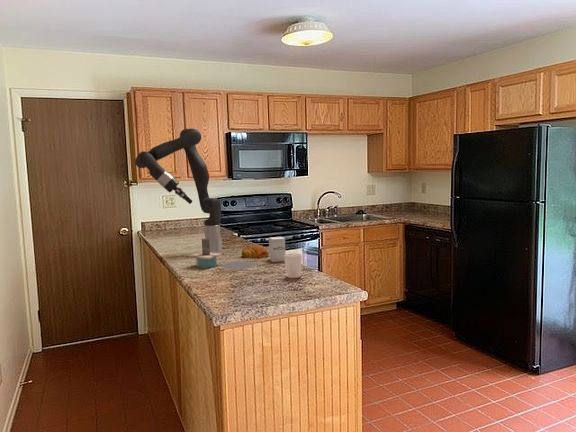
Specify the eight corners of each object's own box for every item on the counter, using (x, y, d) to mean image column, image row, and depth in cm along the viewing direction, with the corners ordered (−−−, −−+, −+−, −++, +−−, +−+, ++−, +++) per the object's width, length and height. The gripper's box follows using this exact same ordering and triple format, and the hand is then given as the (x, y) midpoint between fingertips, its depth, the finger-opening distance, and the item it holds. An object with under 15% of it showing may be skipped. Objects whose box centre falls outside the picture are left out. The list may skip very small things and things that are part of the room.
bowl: (205, 263, 238) (205, 253, 237) (220, 265, 233) (220, 254, 232) (192, 267, 229) (192, 257, 229) (208, 269, 224) (207, 258, 224)
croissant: (238, 261, 255) (235, 247, 254) (260, 253, 264) (257, 240, 263) (252, 263, 244) (250, 249, 242) (274, 256, 253) (272, 242, 252)
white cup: (292, 273, 210) (291, 252, 209) (305, 275, 205) (305, 254, 204) (281, 276, 204) (280, 255, 203) (295, 279, 199) (294, 257, 198)
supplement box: (272, 263, 235) (271, 239, 234) (269, 260, 243) (268, 237, 241) (285, 261, 237) (285, 238, 236) (282, 259, 244) (281, 236, 243)
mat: (236, 261, 241) (236, 260, 241) (261, 264, 233) (261, 263, 233) (217, 267, 228) (217, 266, 227) (243, 270, 220) (243, 269, 219)
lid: (204, 252, 239) (204, 236, 238) (224, 254, 233) (223, 237, 232) (188, 257, 228) (187, 240, 227) (207, 259, 222) (206, 241, 221)
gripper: (172, 176, 229) (196, 197, 233) (172, 176, 243) (195, 196, 247) (162, 187, 229) (186, 208, 233) (163, 186, 242) (185, 206, 246)
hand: (191, 202), depth 240 cm, fingers open, 8 cm apart
